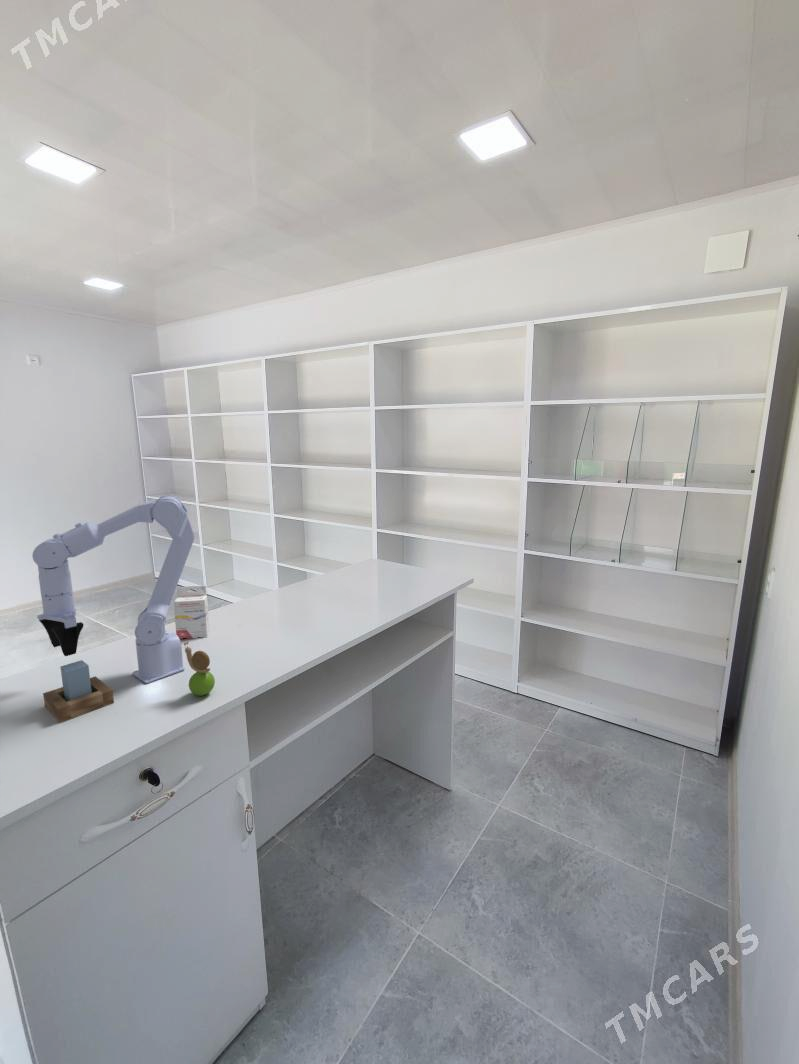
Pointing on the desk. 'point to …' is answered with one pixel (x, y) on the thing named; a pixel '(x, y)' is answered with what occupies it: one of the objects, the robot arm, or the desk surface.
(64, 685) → the slate-blue peg
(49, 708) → the walnut collar
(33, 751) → the desk surface
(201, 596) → the ink cartridge box
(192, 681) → the snail figurine
